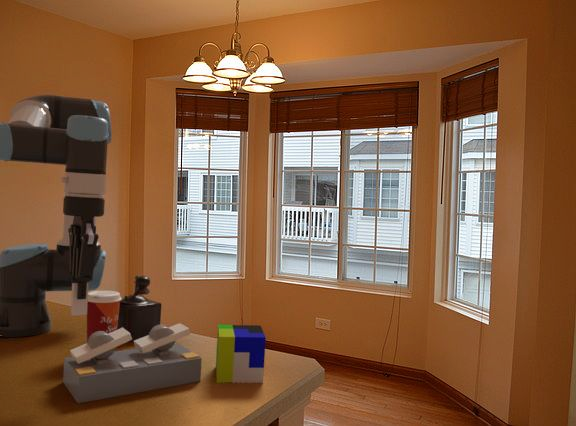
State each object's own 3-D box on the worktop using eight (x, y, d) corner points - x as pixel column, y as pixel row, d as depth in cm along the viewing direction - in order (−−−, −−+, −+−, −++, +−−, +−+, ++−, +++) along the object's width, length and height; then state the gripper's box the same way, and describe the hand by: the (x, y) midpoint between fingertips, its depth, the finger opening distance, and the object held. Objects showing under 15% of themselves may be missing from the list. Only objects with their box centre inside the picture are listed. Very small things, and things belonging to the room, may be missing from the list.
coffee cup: (106, 362, 116) (110, 298, 116) (74, 358, 118) (78, 294, 117) (125, 352, 124) (128, 291, 124) (95, 348, 126) (98, 288, 126)
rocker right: (136, 354, 110) (131, 333, 109) (182, 335, 116) (178, 316, 115) (144, 360, 106) (139, 339, 105) (191, 341, 112) (187, 321, 111)
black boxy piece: (104, 334, 138) (107, 269, 138) (139, 328, 147) (142, 266, 146) (136, 347, 128) (140, 277, 128) (172, 340, 137) (175, 274, 136)
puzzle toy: (263, 382, 110) (265, 337, 109) (216, 382, 108) (219, 336, 108) (258, 367, 120) (260, 325, 119) (215, 367, 118) (218, 324, 118)
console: (63, 382, 103) (64, 355, 103) (177, 364, 118) (178, 340, 118) (77, 403, 93) (79, 373, 93) (200, 381, 108) (201, 355, 108)
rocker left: (74, 364, 102) (67, 342, 101) (126, 340, 108) (120, 320, 107) (81, 371, 98) (73, 349, 97) (134, 346, 104) (128, 325, 103)
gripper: (56, 193, 102) (51, 308, 103) (72, 196, 92) (66, 324, 93) (95, 195, 107) (89, 305, 108) (114, 198, 96) (107, 320, 97)
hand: (78, 314), depth 100 cm, fingers closed
